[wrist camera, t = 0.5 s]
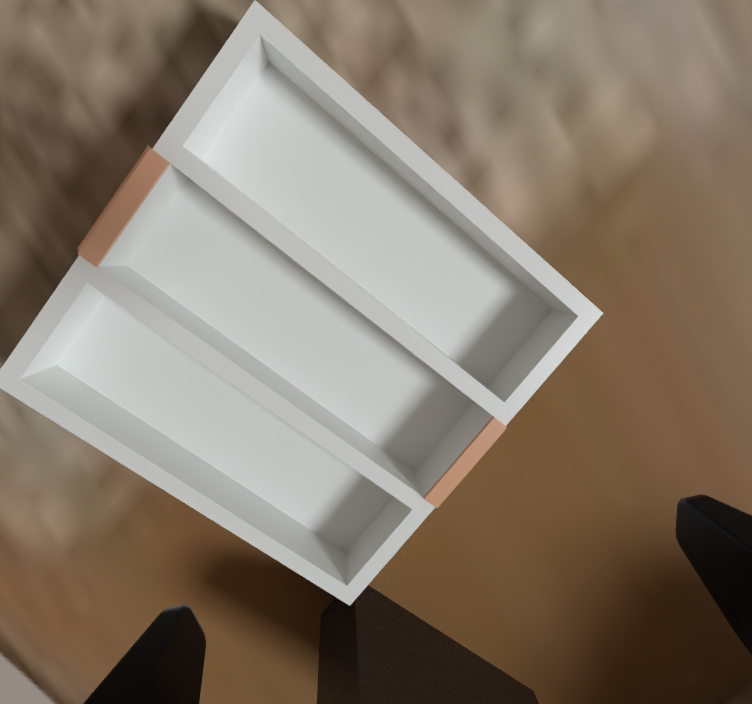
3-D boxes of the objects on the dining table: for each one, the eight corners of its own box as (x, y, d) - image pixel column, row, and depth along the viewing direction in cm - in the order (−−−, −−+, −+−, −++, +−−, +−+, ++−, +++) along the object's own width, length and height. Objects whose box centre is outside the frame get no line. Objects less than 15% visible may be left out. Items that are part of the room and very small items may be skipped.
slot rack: (348, 565, 25) (349, 609, 22) (32, 361, 22) (-19, 379, 19) (569, 305, 23) (605, 313, 20) (261, 32, 20) (246, -10, 16)
